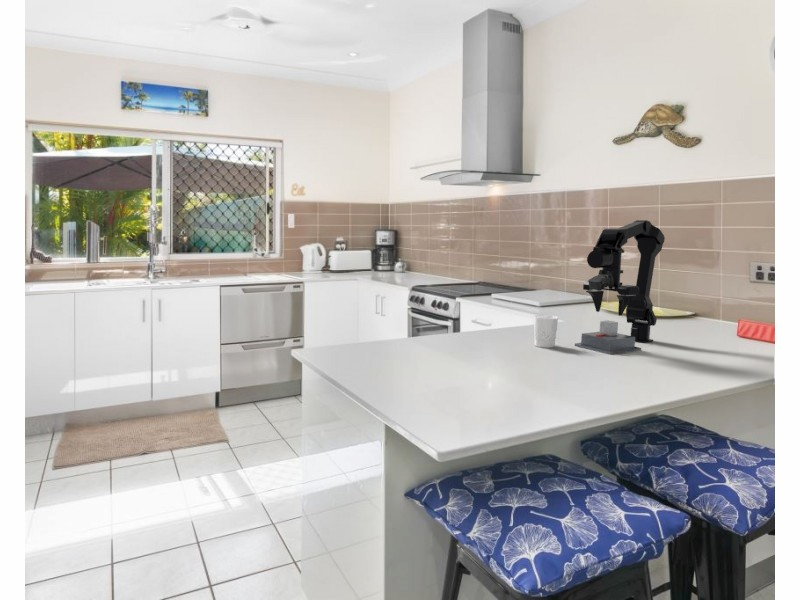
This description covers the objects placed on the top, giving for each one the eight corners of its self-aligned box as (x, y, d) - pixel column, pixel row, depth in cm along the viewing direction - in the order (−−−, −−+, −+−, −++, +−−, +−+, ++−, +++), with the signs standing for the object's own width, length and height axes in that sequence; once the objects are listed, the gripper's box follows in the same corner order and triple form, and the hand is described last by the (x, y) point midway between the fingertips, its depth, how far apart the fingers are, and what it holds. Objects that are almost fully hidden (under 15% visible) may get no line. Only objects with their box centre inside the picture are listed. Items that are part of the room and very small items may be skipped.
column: (606, 343, 193) (608, 320, 192) (616, 345, 190) (618, 322, 189) (598, 344, 191) (599, 321, 190) (608, 346, 187) (609, 323, 186)
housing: (604, 342, 201) (605, 328, 200) (641, 350, 188) (642, 335, 187) (574, 345, 193) (575, 331, 193) (610, 354, 180) (611, 339, 180)
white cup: (557, 348, 188) (558, 319, 186) (532, 347, 189) (534, 318, 188) (555, 344, 195) (557, 315, 194) (532, 343, 197) (533, 314, 196)
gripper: (572, 265, 191) (570, 311, 193) (618, 269, 175) (615, 319, 177) (595, 264, 197) (593, 309, 199) (641, 268, 181) (638, 317, 183)
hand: (608, 313), depth 189 cm, fingers open, 9 cm apart
